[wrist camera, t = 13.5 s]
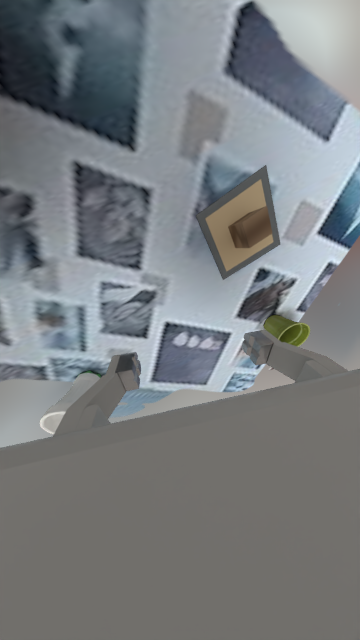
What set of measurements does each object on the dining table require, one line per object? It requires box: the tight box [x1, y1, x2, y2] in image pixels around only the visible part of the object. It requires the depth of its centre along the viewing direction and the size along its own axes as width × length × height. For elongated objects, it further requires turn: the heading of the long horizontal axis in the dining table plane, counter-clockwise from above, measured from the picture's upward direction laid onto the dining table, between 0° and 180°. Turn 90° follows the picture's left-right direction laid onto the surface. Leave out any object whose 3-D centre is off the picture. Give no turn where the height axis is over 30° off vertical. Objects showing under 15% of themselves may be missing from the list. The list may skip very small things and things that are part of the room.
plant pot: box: [264, 315, 310, 347], centre depth 42 cm, size 9×9×9 cm
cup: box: [40, 371, 101, 434], centre depth 40 cm, size 11×11×14 cm
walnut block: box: [228, 206, 272, 248], centre depth 29 cm, size 5×5×6 cm
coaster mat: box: [196, 165, 280, 280], centre depth 32 cm, size 16×16×1 cm
